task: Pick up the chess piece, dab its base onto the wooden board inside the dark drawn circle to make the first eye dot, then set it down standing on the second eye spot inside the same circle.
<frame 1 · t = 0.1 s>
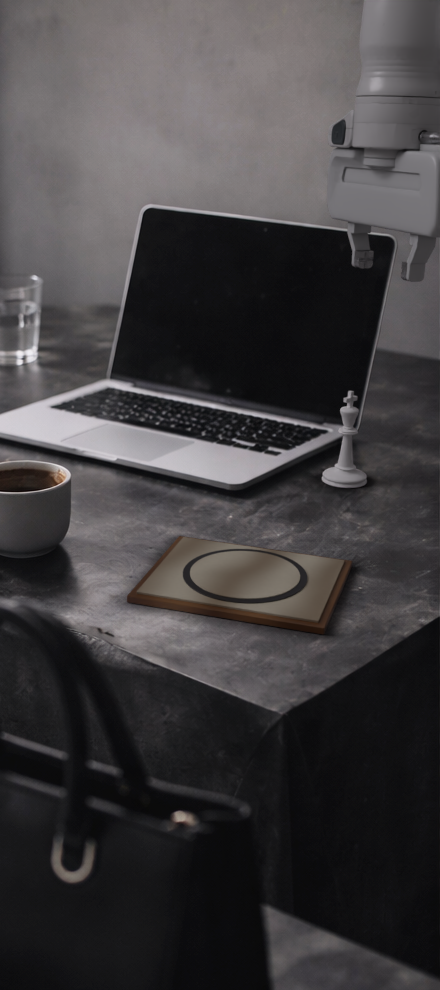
hand: (385, 274, 100), 22 cm above the table, tool pointing down, fingers open, 8 cm apart
wooden board: (244, 583, 82), on the table
chess piece: (344, 482, 107), on the table
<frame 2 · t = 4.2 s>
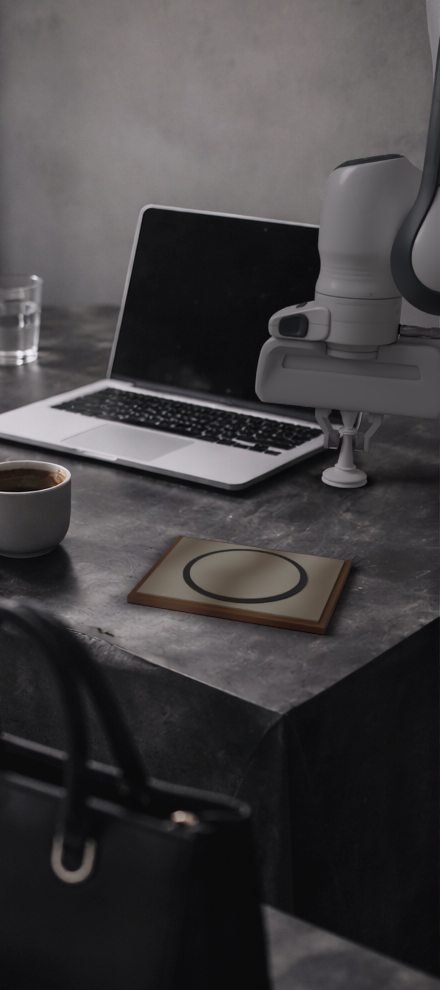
hand: (346, 449, 105), 4 cm above the table, tool pointing down, fingers closed on chess piece
chess piece: (344, 482, 107), on the table, touching gripper
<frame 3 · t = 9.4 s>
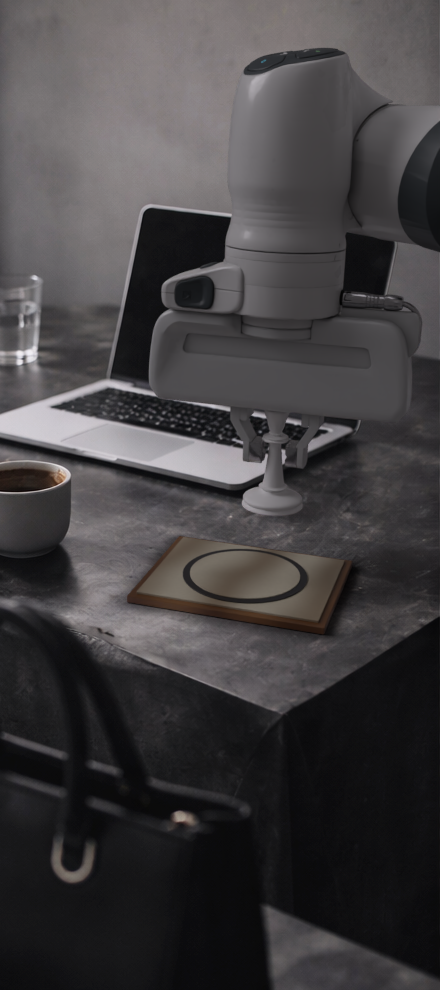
hand: (274, 463, 77), 11 cm above the table, tool pointing down, fingers closed on chess piece
chess piece: (272, 507, 79), point 7 cm above the table, touching gripper
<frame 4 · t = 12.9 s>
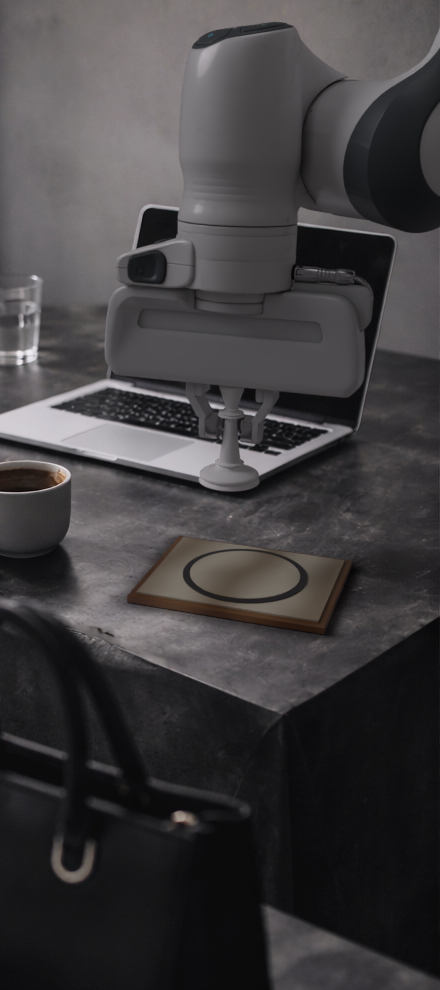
hand: (230, 439, 78), 13 cm above the table, tool pointing down, fingers closed on chess piece
chess piece: (229, 483, 79), point 9 cm above the table, touching gripper
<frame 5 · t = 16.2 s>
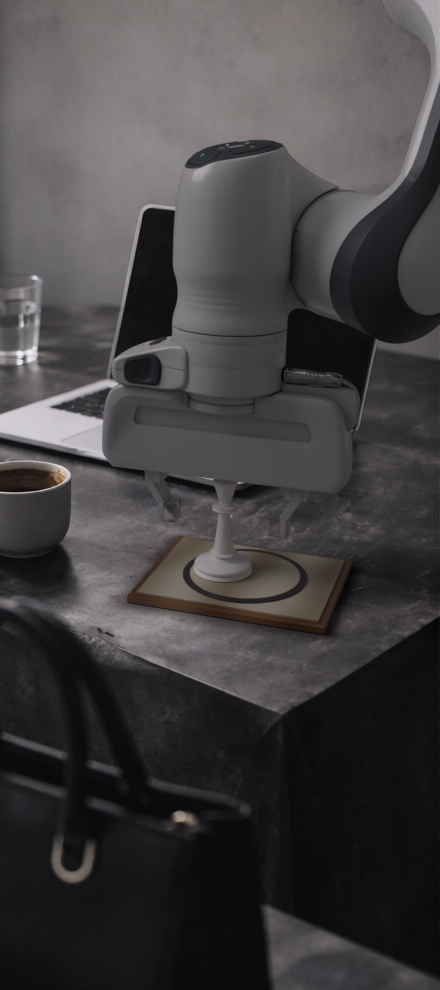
hand: (223, 527, 81), 5 cm above the table, tool pointing down, fingers open, 8 cm apart
chess piece: (222, 572, 82), point 1 cm above the table, touching wooden board
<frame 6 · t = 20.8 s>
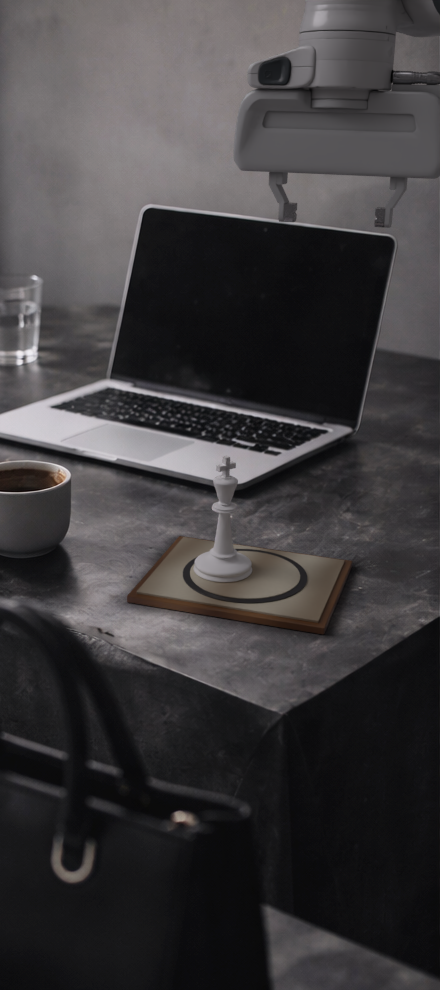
hand: (334, 224, 95), 27 cm above the table, tool pointing down, fingers open, 8 cm apart
nothing on the table moved.
at the end: chess piece 0.1 cm from the target spot on the wooden board, point 0.8 cm above the wooden board's base; chess piece tilted 0°; the gripper is holding nothing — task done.
